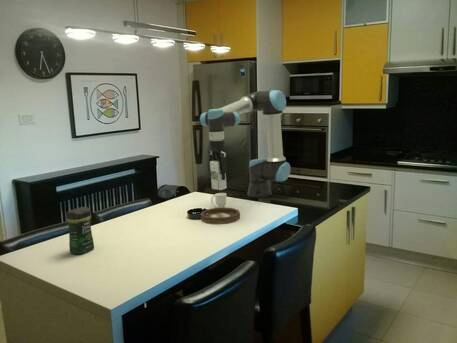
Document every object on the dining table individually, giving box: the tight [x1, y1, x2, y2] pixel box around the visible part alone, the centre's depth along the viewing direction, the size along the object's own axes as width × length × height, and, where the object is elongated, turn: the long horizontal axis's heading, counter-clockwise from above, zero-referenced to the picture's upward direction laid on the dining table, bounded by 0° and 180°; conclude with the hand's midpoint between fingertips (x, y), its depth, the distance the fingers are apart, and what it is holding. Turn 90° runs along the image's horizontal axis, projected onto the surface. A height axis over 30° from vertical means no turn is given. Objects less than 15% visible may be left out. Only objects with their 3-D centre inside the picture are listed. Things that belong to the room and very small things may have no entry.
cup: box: [210, 192, 227, 208], centre depth 230 cm, size 7×10×8 cm
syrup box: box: [209, 160, 227, 191], centre depth 206 cm, size 6×6×14 cm
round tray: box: [200, 207, 241, 225], centre depth 209 cm, size 20×20×3 cm
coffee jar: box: [66, 206, 95, 255], centre depth 169 cm, size 10×8×19 cm
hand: (218, 185), depth 207 cm, fingers closed on syrup box, 6 cm apart
